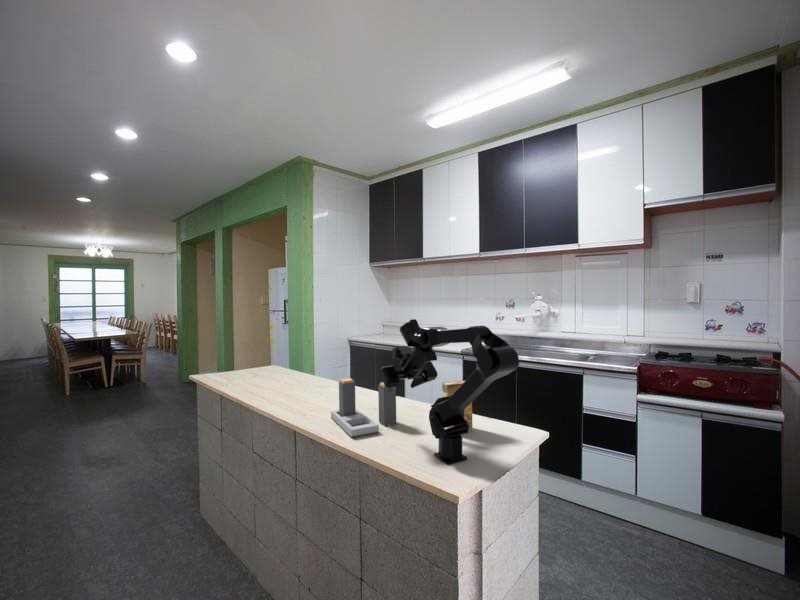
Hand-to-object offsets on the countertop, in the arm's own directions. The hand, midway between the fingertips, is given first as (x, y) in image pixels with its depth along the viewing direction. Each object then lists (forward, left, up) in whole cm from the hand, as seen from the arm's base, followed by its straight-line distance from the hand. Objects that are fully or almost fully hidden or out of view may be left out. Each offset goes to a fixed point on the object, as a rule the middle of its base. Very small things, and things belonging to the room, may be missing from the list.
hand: (399, 388), depth 116 cm
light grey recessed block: (+12, +12, -13) cm, 21 cm away
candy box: (-9, -16, -14) cm, 23 cm away
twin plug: (+18, +12, -13) cm, 25 cm away
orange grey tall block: (+8, +1, -13) cm, 16 cm away
